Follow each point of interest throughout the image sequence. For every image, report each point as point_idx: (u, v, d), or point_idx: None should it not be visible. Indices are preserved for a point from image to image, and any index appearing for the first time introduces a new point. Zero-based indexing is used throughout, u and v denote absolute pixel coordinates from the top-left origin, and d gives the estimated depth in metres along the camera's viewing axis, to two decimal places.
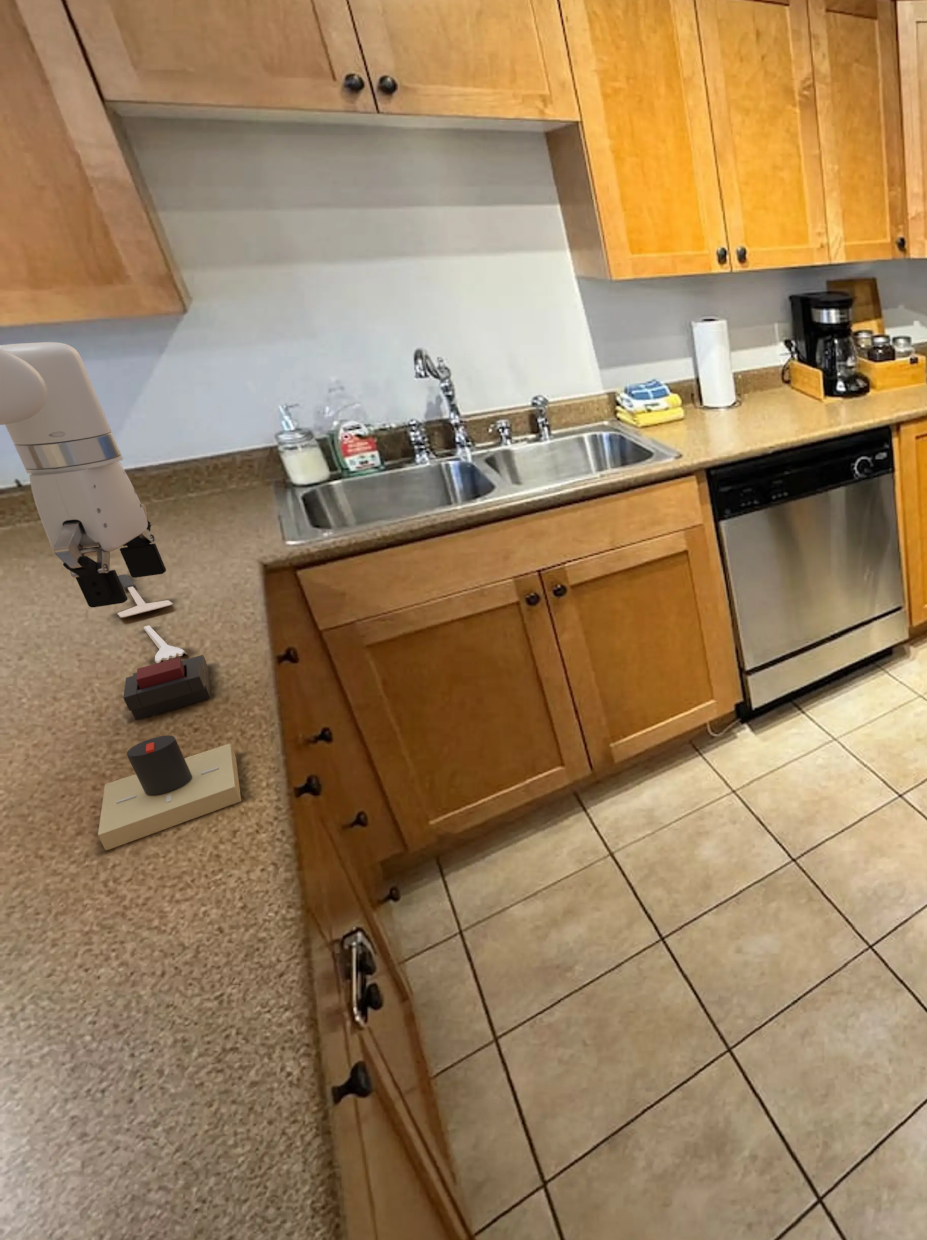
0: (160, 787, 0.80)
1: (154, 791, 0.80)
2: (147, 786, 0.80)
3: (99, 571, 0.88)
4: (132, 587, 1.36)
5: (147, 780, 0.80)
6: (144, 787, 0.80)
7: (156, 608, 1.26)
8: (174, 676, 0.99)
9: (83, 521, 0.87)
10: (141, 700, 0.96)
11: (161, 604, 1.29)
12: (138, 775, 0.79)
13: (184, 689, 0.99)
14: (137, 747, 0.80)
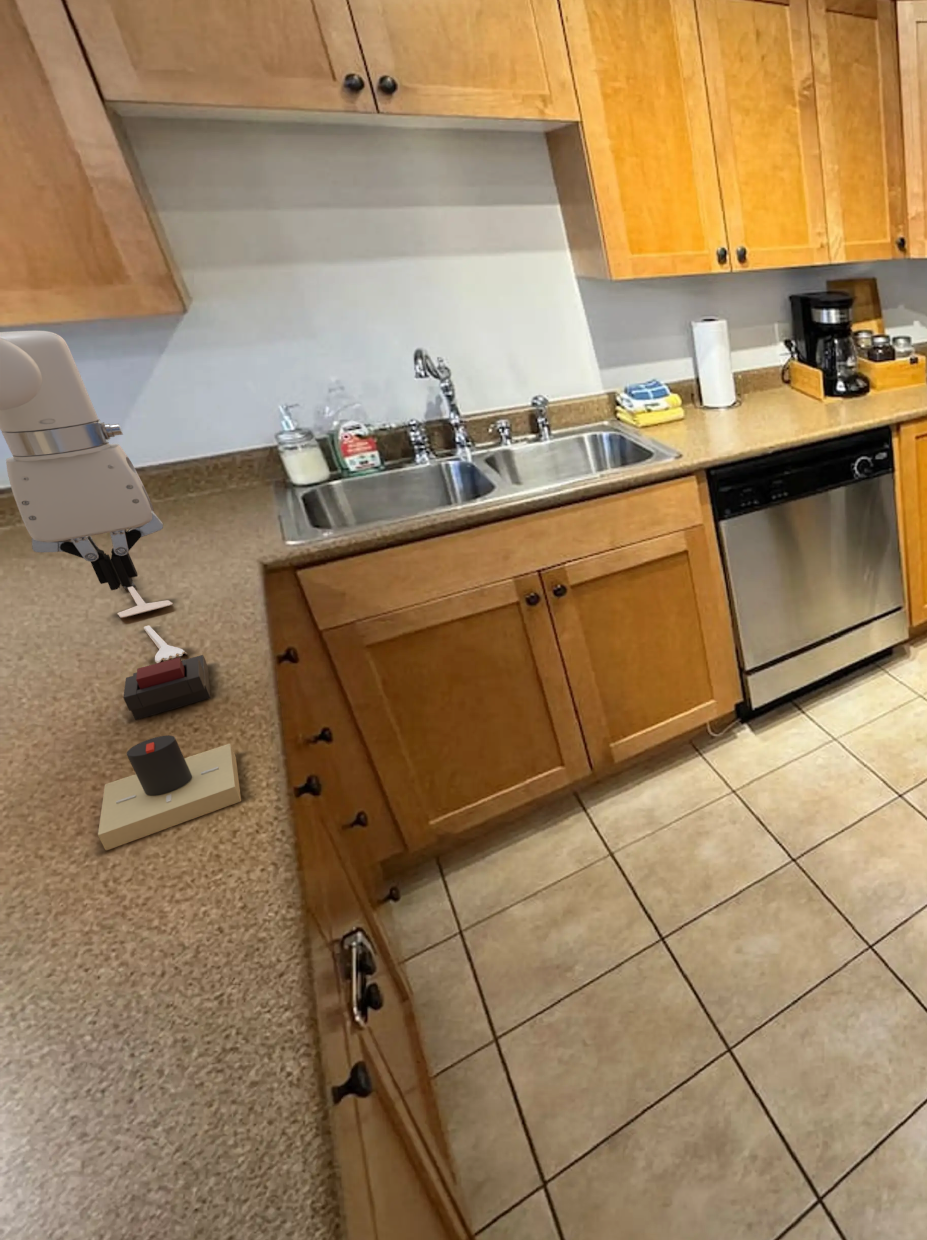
0: (160, 787, 0.80)
1: (154, 791, 0.80)
2: (147, 786, 0.80)
3: None
4: (132, 587, 1.36)
5: (147, 780, 0.80)
6: (144, 787, 0.80)
7: (156, 608, 1.26)
8: (174, 676, 0.99)
9: None
10: (141, 700, 0.96)
11: (161, 604, 1.29)
12: (138, 775, 0.79)
13: (184, 689, 0.99)
14: (137, 747, 0.80)
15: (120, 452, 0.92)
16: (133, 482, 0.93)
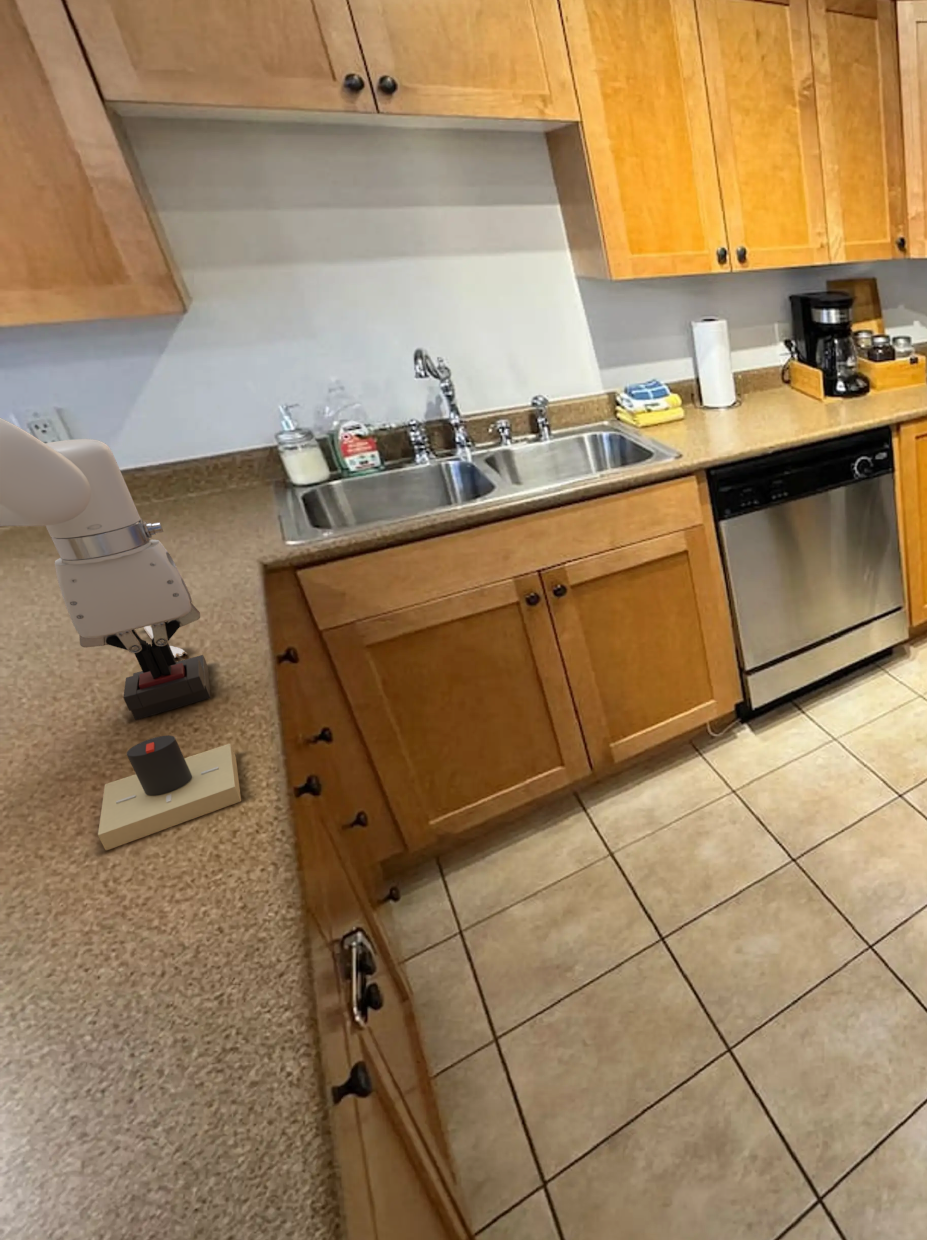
0: (160, 787, 0.80)
1: (154, 791, 0.80)
2: (147, 786, 0.80)
3: None
4: None
5: (147, 780, 0.80)
6: (144, 787, 0.80)
7: None
8: None
9: (67, 608, 0.92)
10: (141, 700, 0.96)
11: None
12: (138, 775, 0.79)
13: (184, 689, 0.99)
14: (137, 747, 0.80)
15: (161, 549, 0.96)
16: (173, 577, 0.97)
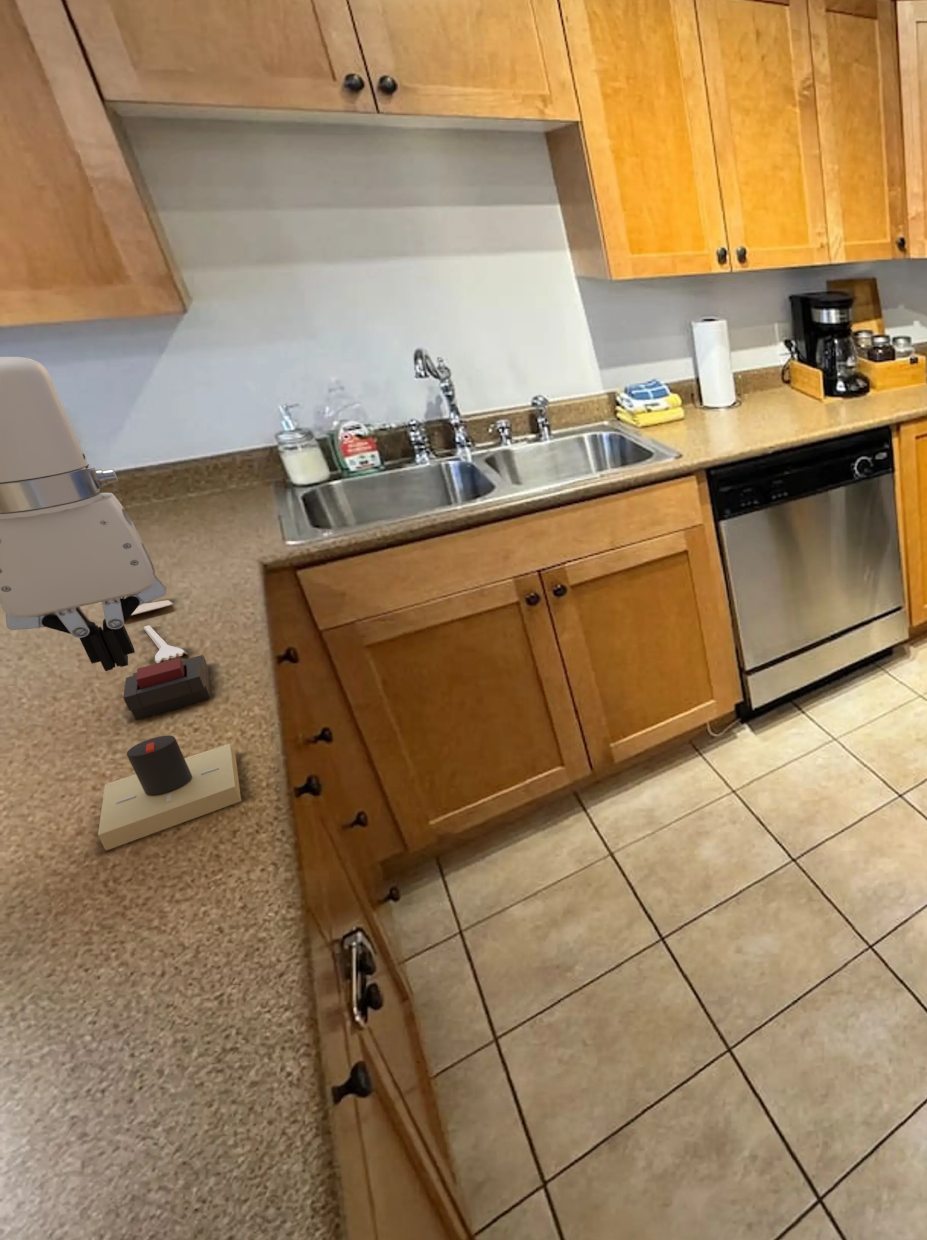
0: (160, 787, 0.80)
1: (154, 791, 0.80)
2: (147, 786, 0.80)
3: None
4: None
5: (147, 780, 0.80)
6: (144, 787, 0.80)
7: (156, 608, 1.26)
8: (174, 676, 0.99)
9: None
10: (141, 700, 0.96)
11: (161, 604, 1.29)
12: (138, 775, 0.79)
13: (184, 689, 0.99)
14: (137, 747, 0.80)
15: (115, 503, 0.75)
16: (131, 540, 0.76)
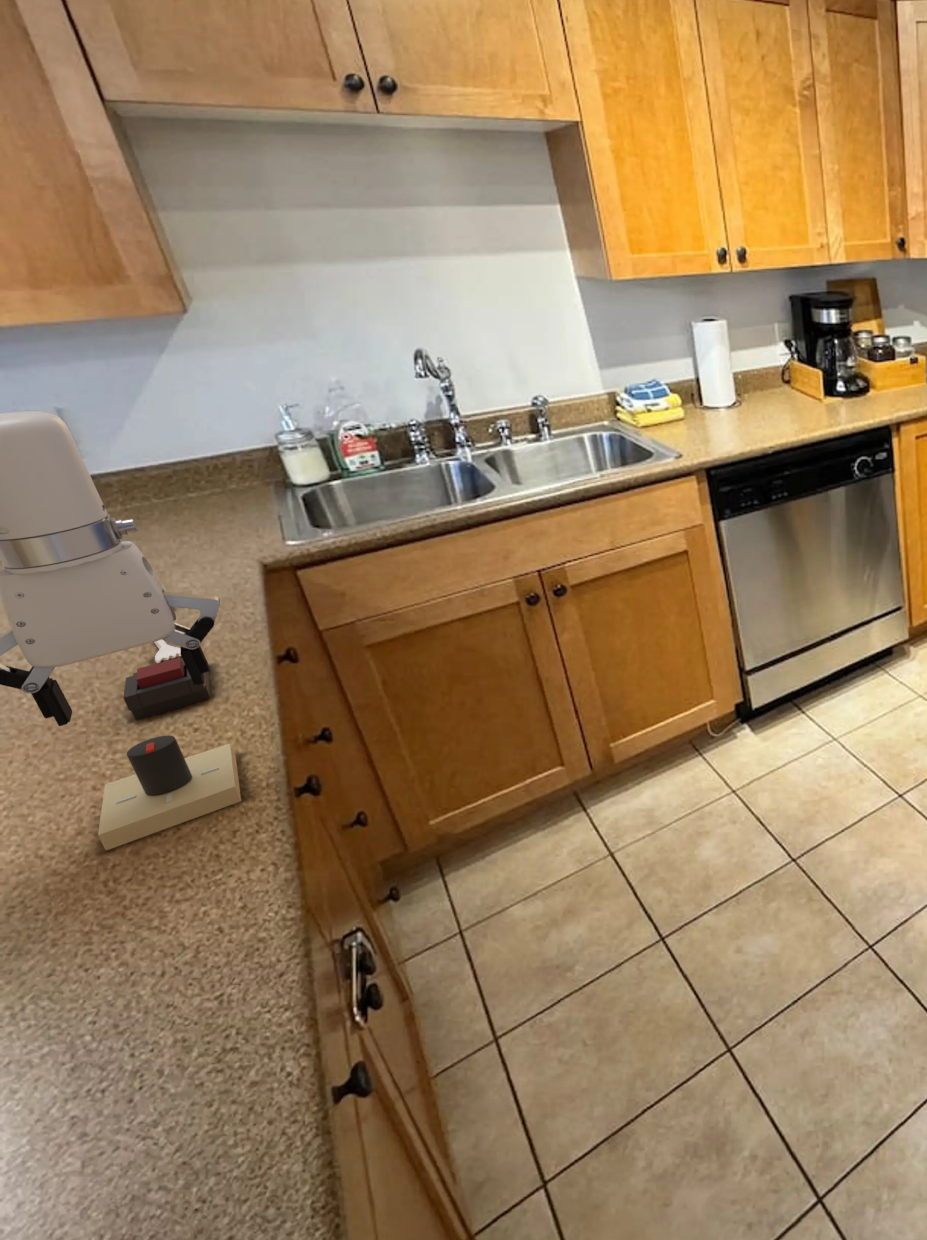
0: (160, 787, 0.80)
1: (154, 791, 0.80)
2: (147, 786, 0.80)
3: None
4: None
5: (147, 780, 0.80)
6: (144, 787, 0.80)
7: None
8: (174, 676, 0.99)
9: (13, 631, 0.71)
10: (141, 700, 0.96)
11: None
12: (138, 775, 0.79)
13: (184, 689, 0.99)
14: (137, 747, 0.80)
15: (135, 553, 0.76)
16: (151, 588, 0.76)
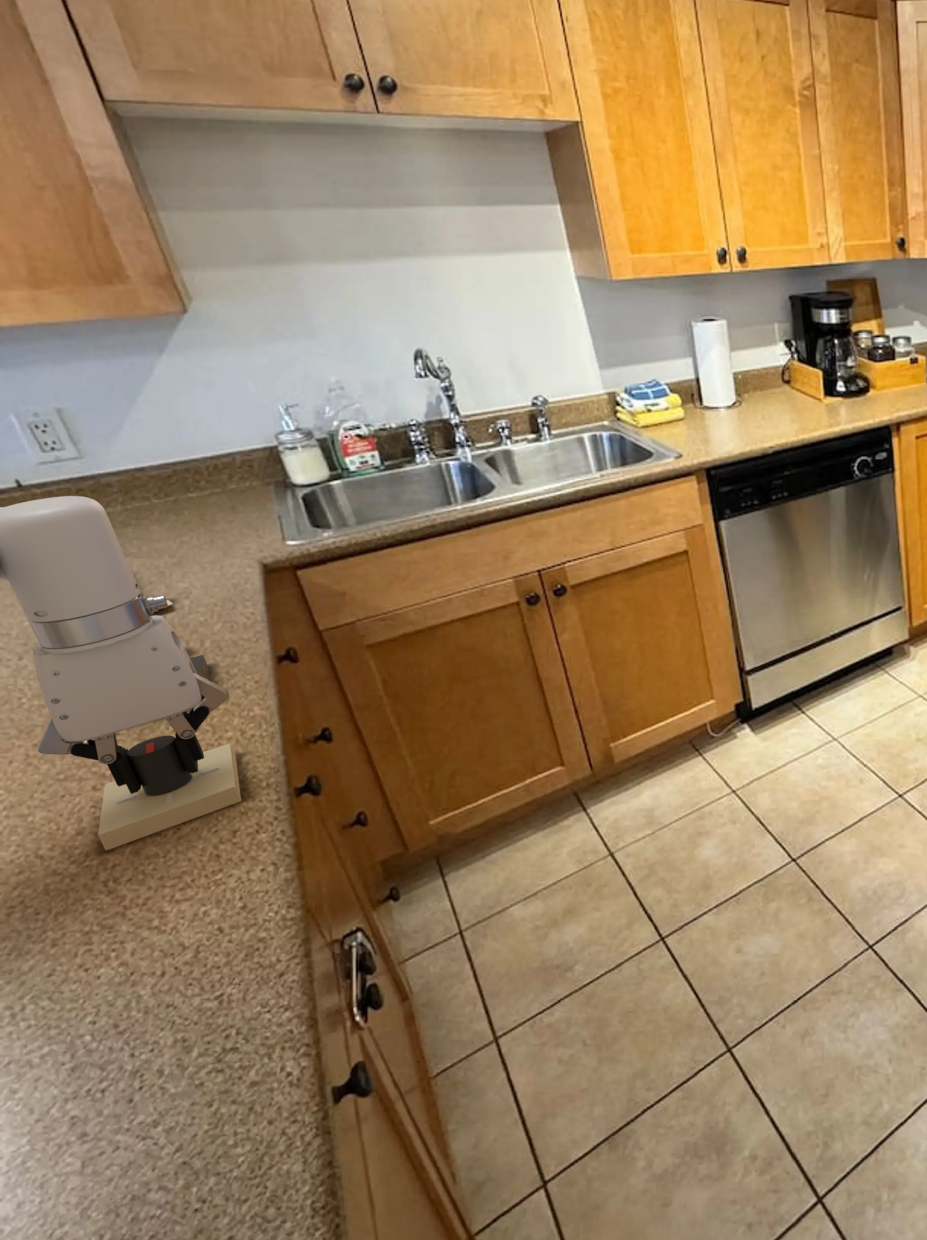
0: (160, 787, 0.80)
1: (154, 791, 0.80)
2: (147, 786, 0.80)
3: None
4: None
5: (147, 780, 0.80)
6: (144, 787, 0.80)
7: None
8: None
9: None
10: None
11: None
12: (138, 775, 0.79)
13: None
14: (137, 747, 0.80)
15: (165, 628, 0.78)
16: (180, 662, 0.79)
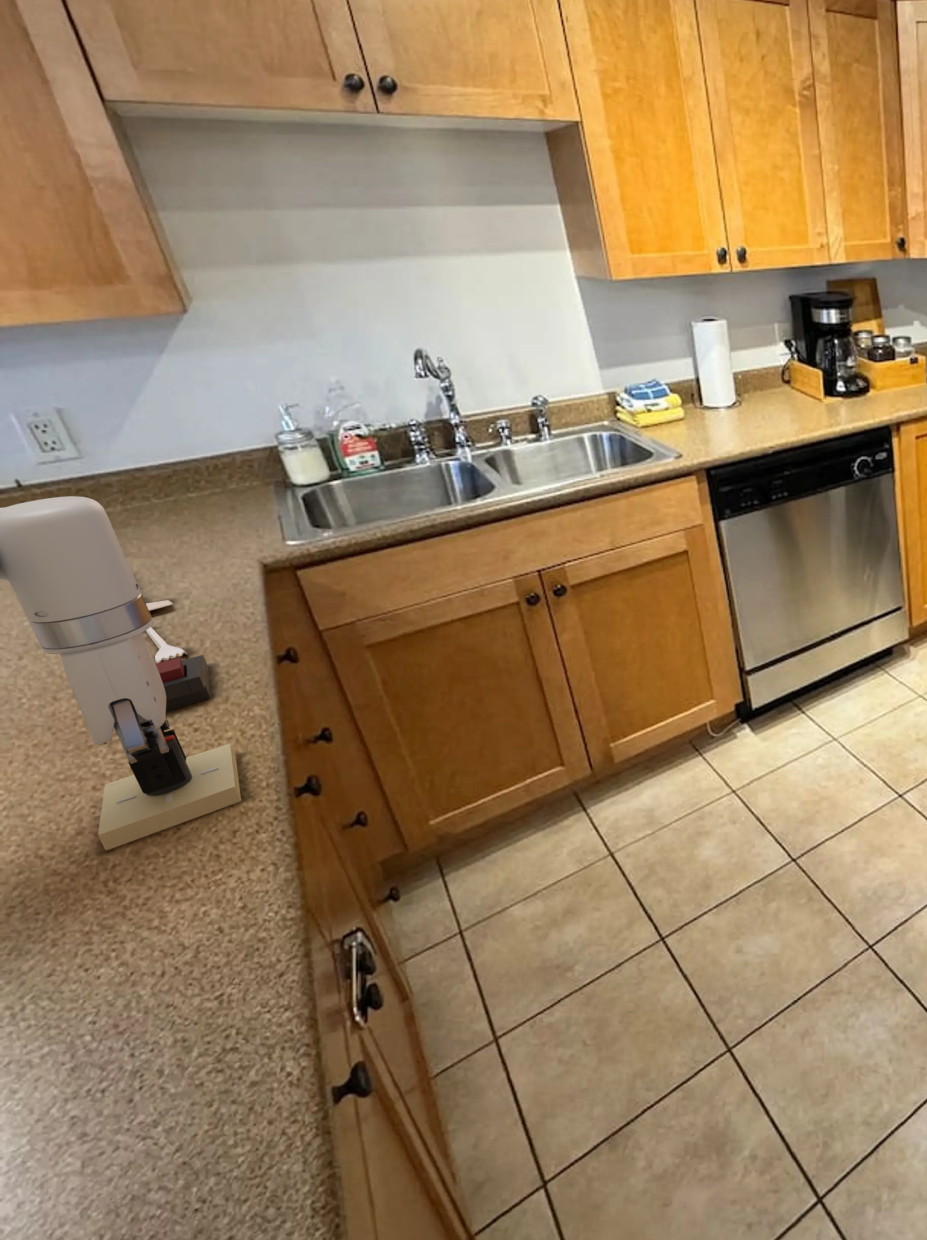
0: (188, 772, 0.82)
1: (187, 778, 0.82)
2: None
3: (161, 751, 0.78)
4: None
5: None
6: None
7: (156, 608, 1.26)
8: (174, 676, 0.99)
9: (133, 699, 0.75)
10: None
11: (161, 604, 1.29)
12: None
13: (184, 689, 0.99)
14: None
15: None
16: None
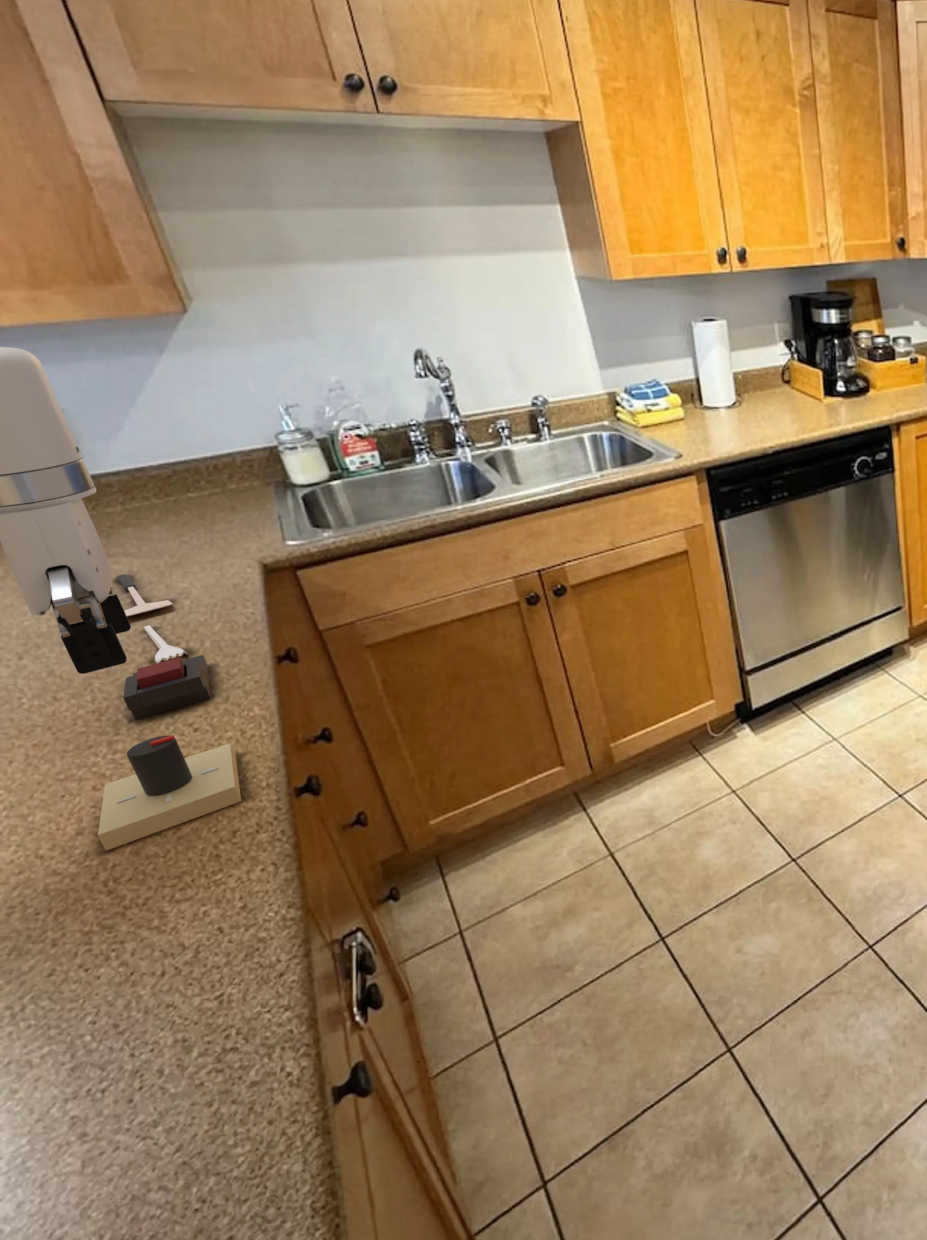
0: (188, 772, 0.82)
1: (187, 778, 0.82)
2: (181, 775, 0.81)
3: (98, 626, 0.71)
4: (132, 587, 1.36)
5: (181, 768, 0.81)
6: (176, 779, 0.81)
7: (156, 608, 1.26)
8: (174, 676, 0.99)
9: (73, 566, 0.70)
10: (141, 700, 0.96)
11: (161, 604, 1.29)
12: (170, 768, 0.80)
13: (184, 689, 0.99)
14: (144, 751, 0.79)
15: None
16: None
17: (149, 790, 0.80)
